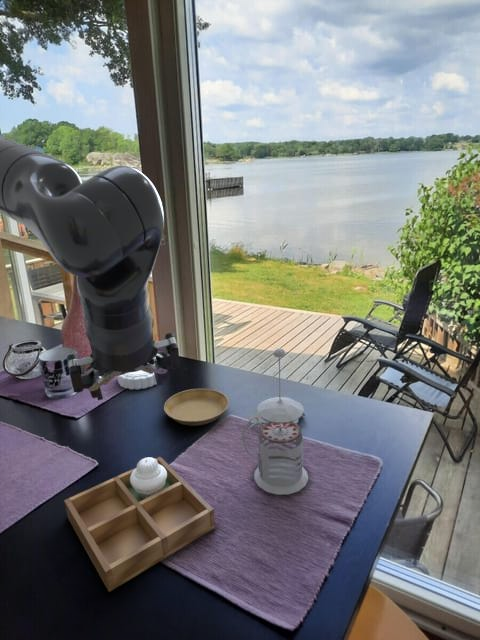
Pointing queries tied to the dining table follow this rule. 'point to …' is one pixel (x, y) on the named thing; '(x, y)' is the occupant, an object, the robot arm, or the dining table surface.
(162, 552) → the grid
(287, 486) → the french press
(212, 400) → the plant saucer
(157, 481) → the muffin
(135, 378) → the mooncake
